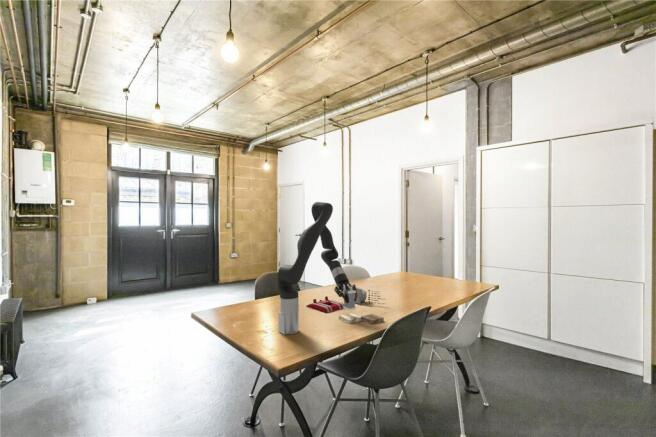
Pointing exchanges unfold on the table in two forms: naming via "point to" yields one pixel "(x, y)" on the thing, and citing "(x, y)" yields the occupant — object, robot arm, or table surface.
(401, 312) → the table surface
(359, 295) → the voltmeter
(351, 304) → the block
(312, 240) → the robot arm
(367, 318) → the stand
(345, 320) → the stand
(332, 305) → the fire alarm
